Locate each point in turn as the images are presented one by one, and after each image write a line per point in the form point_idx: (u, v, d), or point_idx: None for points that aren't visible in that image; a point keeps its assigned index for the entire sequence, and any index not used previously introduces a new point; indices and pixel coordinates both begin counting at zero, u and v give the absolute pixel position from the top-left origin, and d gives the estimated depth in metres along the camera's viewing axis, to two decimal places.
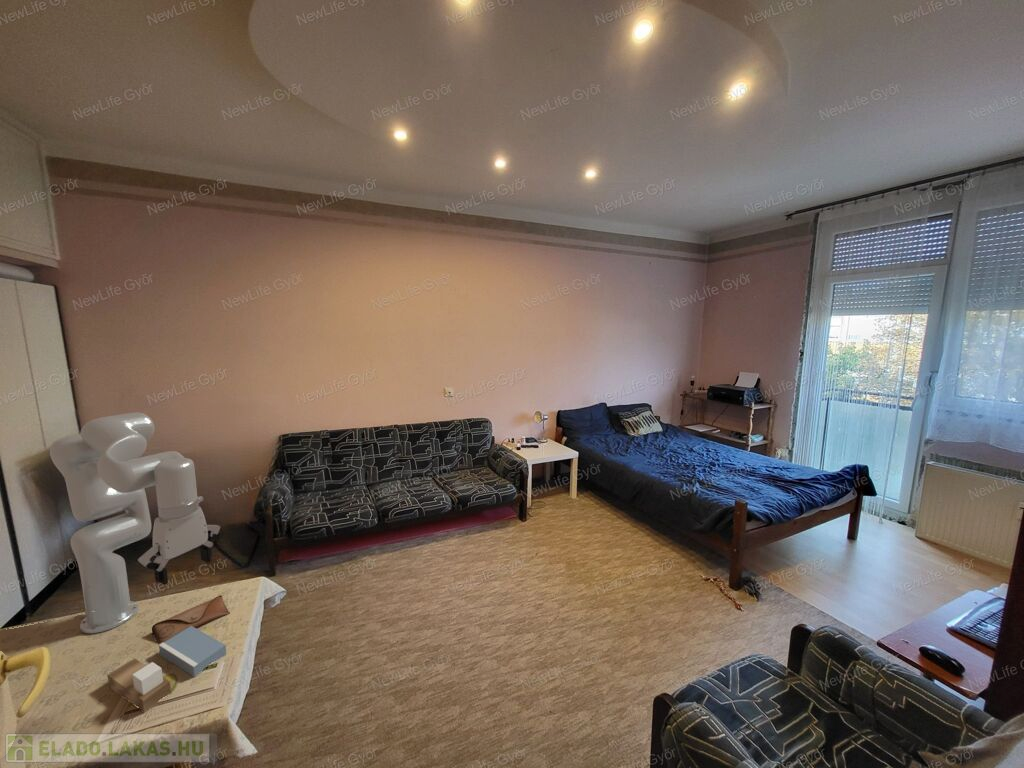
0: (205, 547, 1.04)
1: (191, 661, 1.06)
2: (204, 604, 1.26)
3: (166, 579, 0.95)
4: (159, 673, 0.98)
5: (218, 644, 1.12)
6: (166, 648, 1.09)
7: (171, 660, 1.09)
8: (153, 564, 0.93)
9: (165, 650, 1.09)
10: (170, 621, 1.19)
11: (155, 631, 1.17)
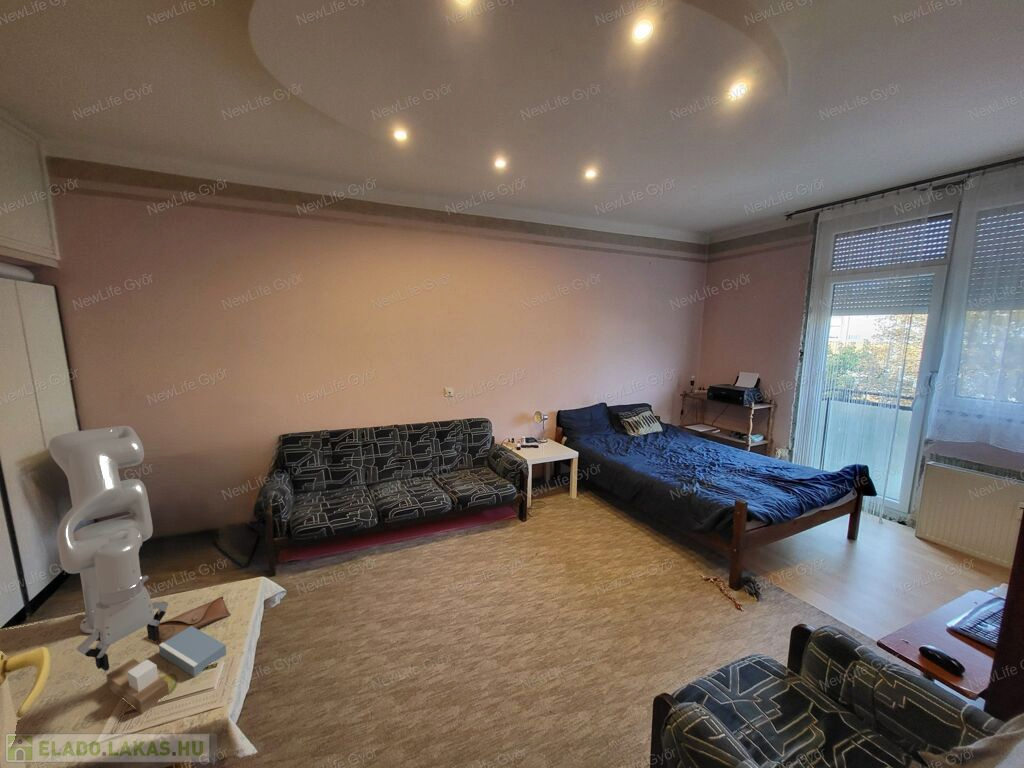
0: (151, 626, 1.03)
1: (191, 661, 1.06)
2: (205, 605, 1.25)
3: (107, 665, 0.95)
4: (154, 670, 0.99)
5: (218, 644, 1.12)
6: (166, 648, 1.09)
7: (171, 660, 1.09)
8: (93, 651, 0.93)
9: (165, 650, 1.09)
10: (171, 622, 1.19)
11: None
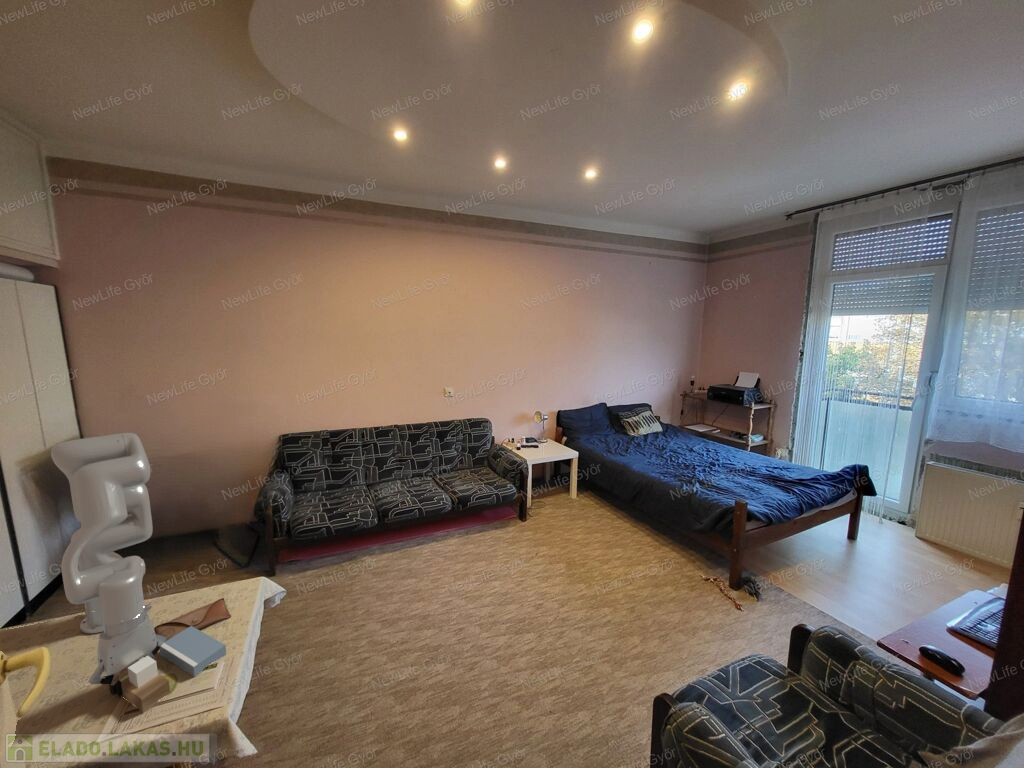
0: None
1: (191, 661, 1.06)
2: (206, 607, 1.25)
3: (120, 691, 0.98)
4: (154, 667, 1.00)
5: (218, 644, 1.12)
6: (166, 648, 1.09)
7: (171, 660, 1.09)
8: (107, 679, 0.96)
9: (165, 650, 1.09)
10: (171, 624, 1.18)
11: (156, 633, 1.16)
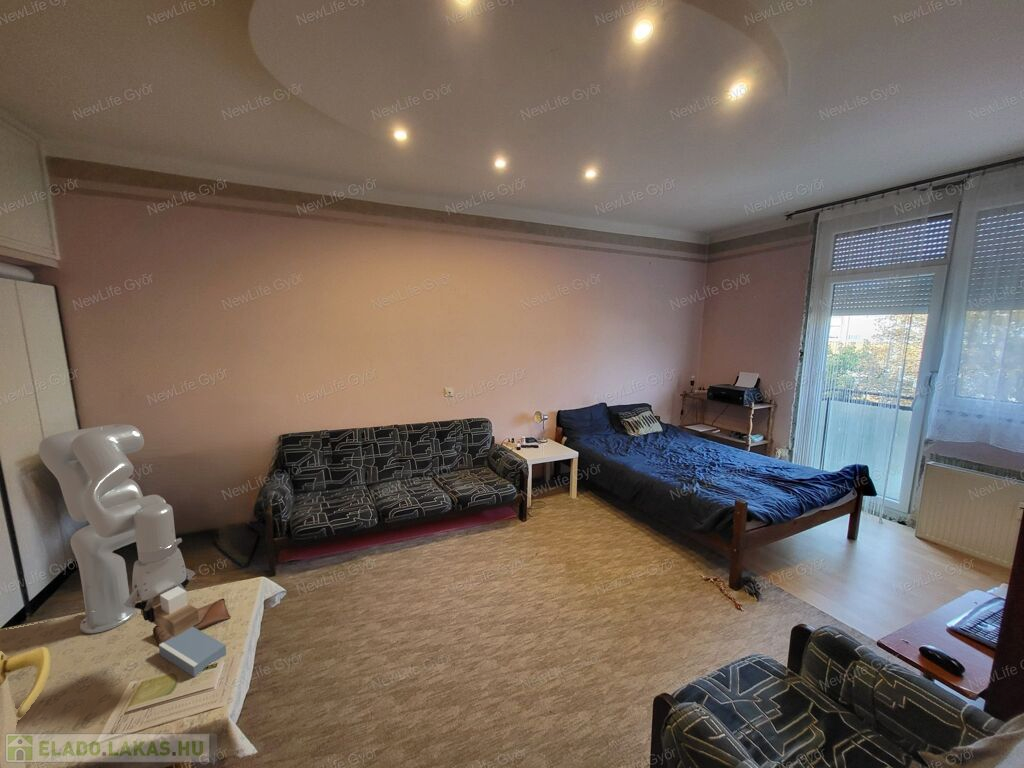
0: None
1: (191, 661, 1.06)
2: (205, 607, 1.24)
3: (153, 617, 1.03)
4: (184, 596, 1.05)
5: (218, 644, 1.12)
6: (166, 648, 1.09)
7: (171, 660, 1.09)
8: (141, 604, 1.01)
9: (165, 650, 1.09)
10: None
11: (155, 633, 1.16)
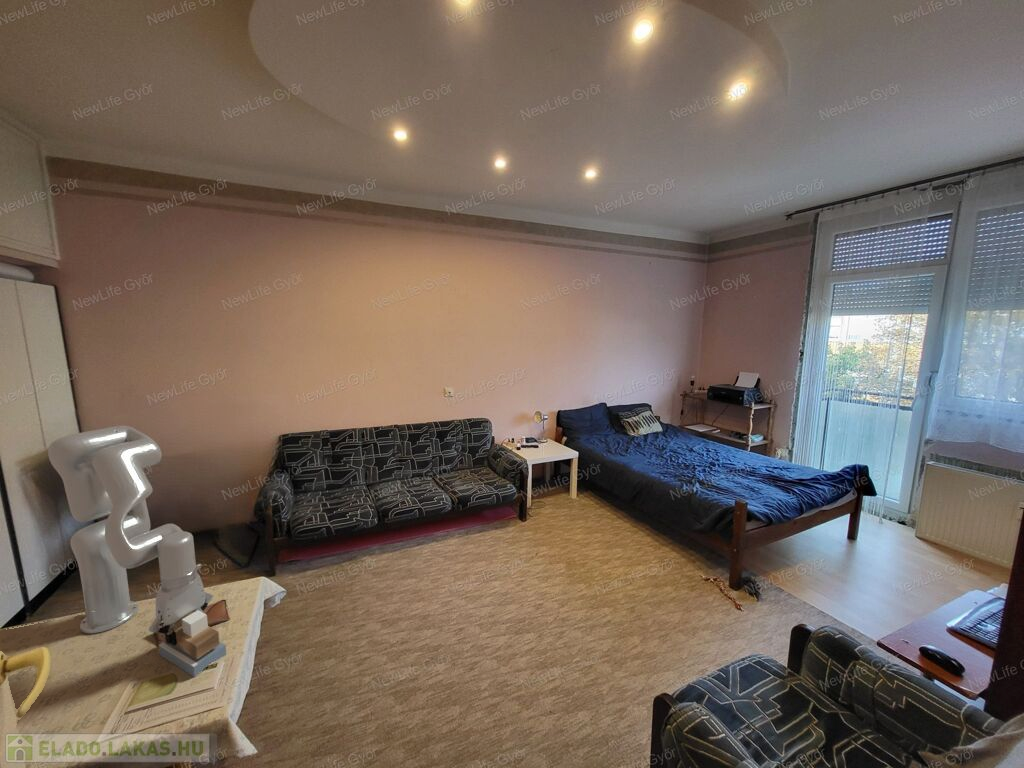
0: None
1: (191, 661, 1.06)
2: (206, 608, 1.24)
3: (175, 641, 1.08)
4: (204, 619, 1.10)
5: None
6: (166, 648, 1.09)
7: (171, 660, 1.09)
8: (164, 629, 1.06)
9: (165, 650, 1.09)
10: None
11: (155, 632, 1.16)
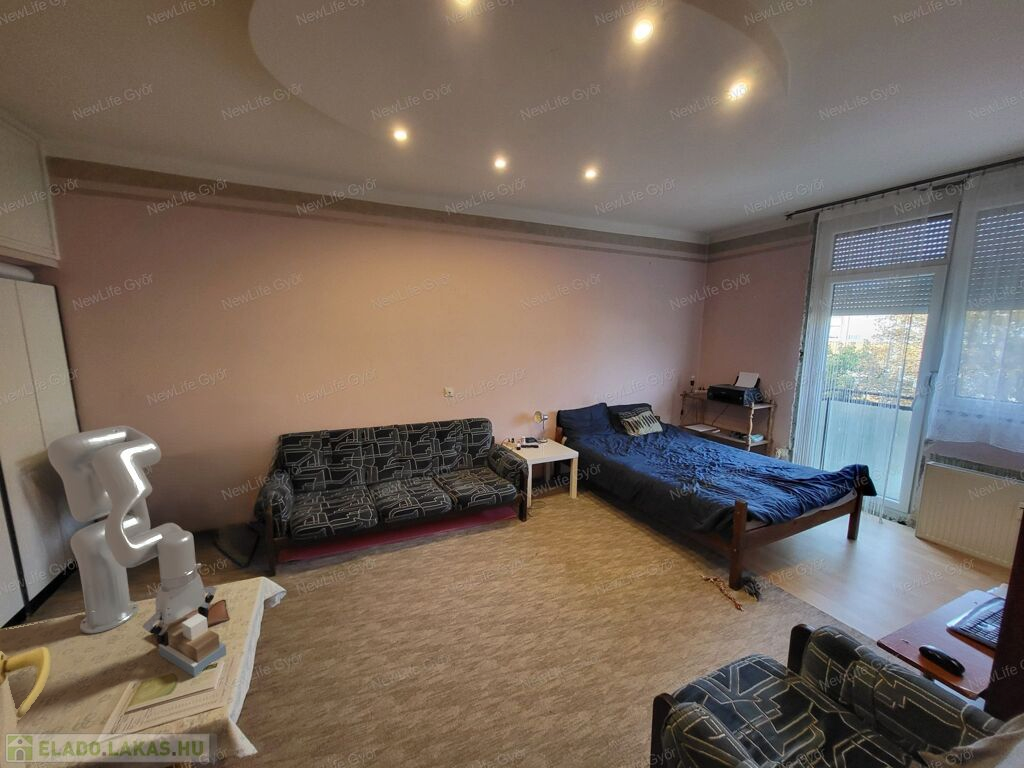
0: (202, 608, 1.15)
1: (191, 661, 1.06)
2: None
3: (167, 641, 1.07)
4: (204, 622, 1.10)
5: None
6: (166, 648, 1.09)
7: (171, 660, 1.09)
8: (156, 629, 1.04)
9: (165, 650, 1.09)
10: None
11: None
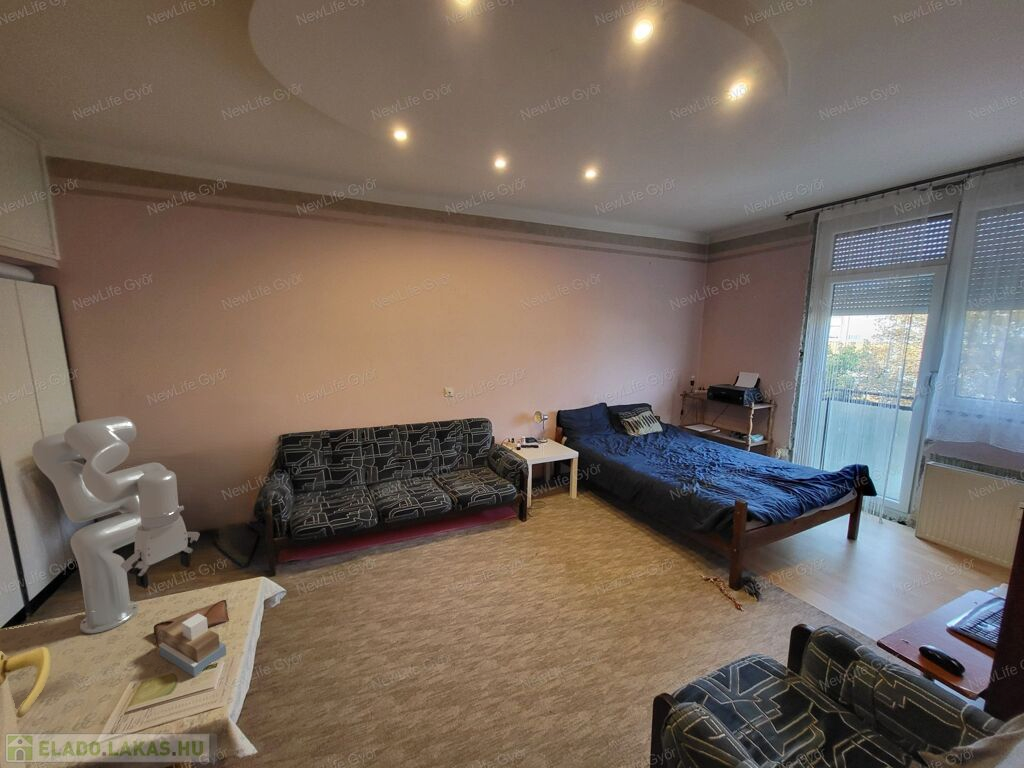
0: (185, 553, 1.11)
1: (191, 661, 1.06)
2: (206, 608, 1.24)
3: (147, 583, 1.02)
4: (204, 622, 1.10)
5: None
6: (166, 648, 1.09)
7: (171, 660, 1.09)
8: (135, 569, 1.00)
9: (165, 650, 1.09)
10: (170, 623, 1.18)
11: (155, 632, 1.16)
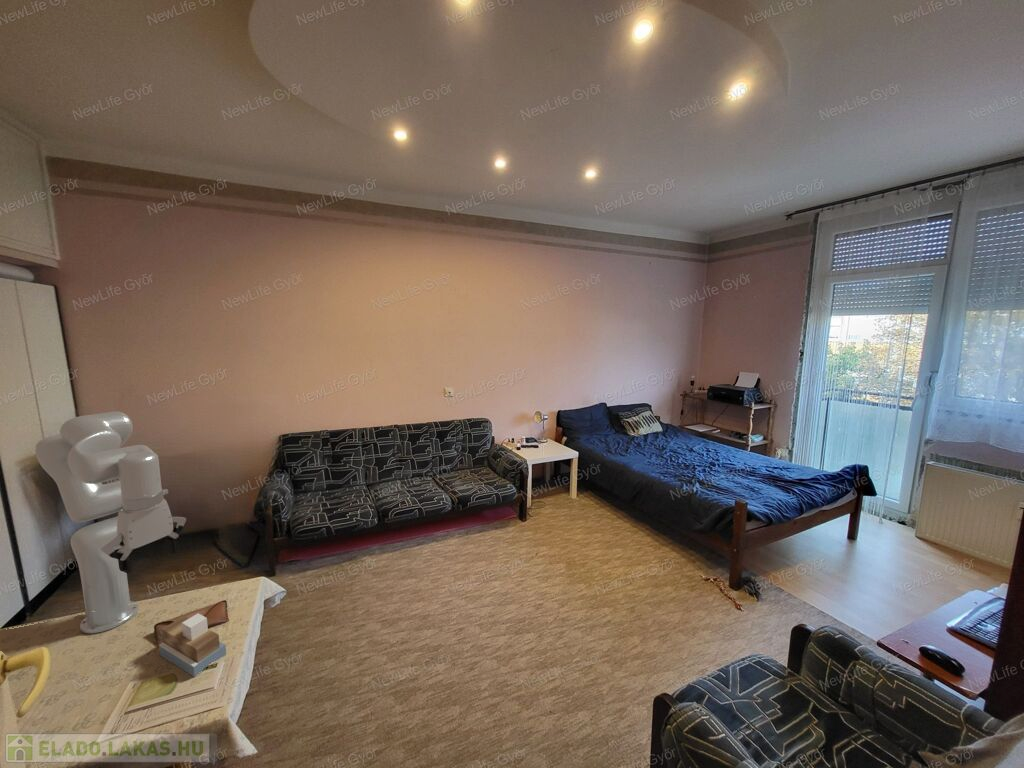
0: (170, 538, 1.07)
1: (191, 661, 1.06)
2: (206, 608, 1.24)
3: (130, 568, 0.99)
4: (204, 622, 1.10)
5: None
6: (166, 648, 1.09)
7: (171, 660, 1.09)
8: (116, 553, 0.97)
9: (165, 650, 1.09)
10: (170, 622, 1.19)
11: (155, 631, 1.17)
